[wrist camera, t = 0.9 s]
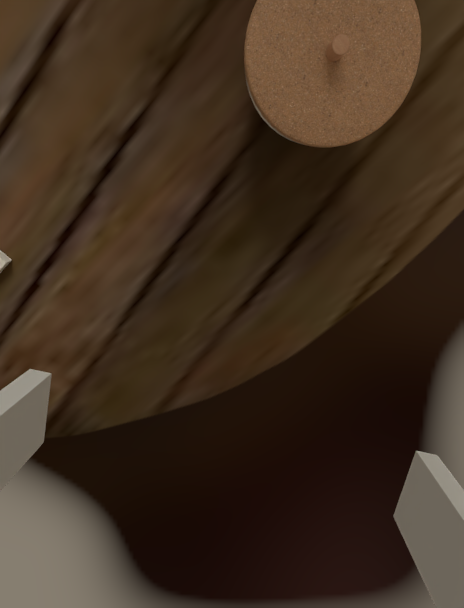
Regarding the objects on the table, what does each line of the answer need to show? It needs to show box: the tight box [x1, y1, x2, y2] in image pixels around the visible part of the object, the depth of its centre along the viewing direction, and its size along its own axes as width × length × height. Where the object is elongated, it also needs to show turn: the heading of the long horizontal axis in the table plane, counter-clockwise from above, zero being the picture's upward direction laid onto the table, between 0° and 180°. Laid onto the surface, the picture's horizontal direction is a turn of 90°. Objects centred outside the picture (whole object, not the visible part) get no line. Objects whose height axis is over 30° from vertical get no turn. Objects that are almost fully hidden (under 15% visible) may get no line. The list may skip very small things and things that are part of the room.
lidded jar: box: [244, 0, 421, 147], centre depth 28 cm, size 11×11×9 cm
